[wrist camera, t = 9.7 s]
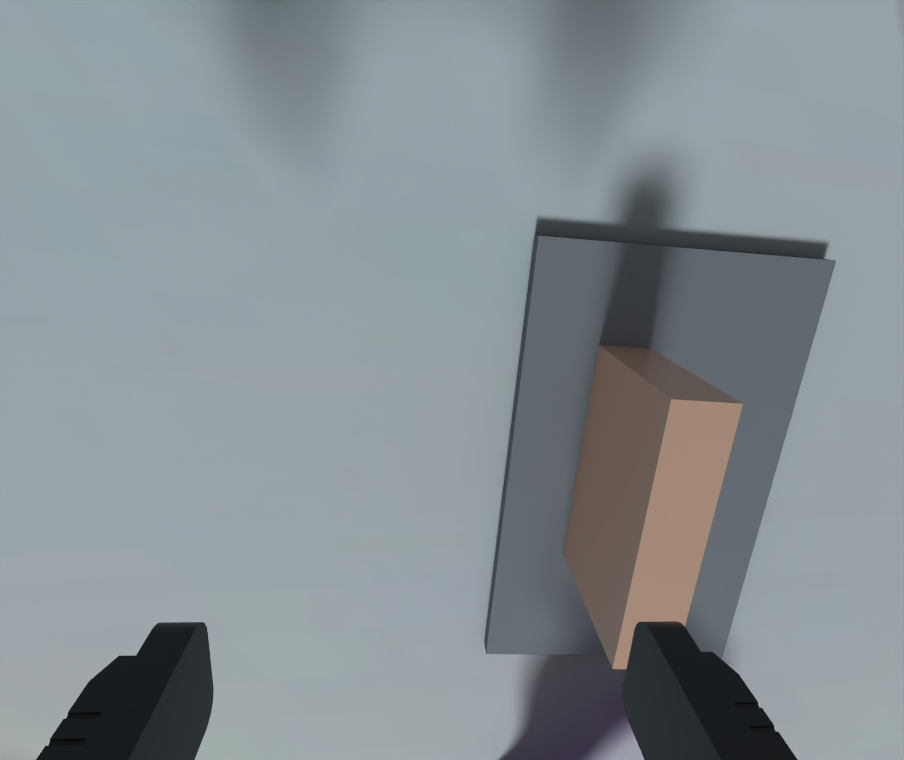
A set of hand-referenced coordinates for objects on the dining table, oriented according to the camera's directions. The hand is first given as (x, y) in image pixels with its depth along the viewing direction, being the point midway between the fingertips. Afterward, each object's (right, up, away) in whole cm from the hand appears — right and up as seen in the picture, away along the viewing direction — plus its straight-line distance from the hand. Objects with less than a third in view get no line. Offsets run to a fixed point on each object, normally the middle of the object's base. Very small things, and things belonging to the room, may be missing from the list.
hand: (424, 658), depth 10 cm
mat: (+8, +1, +12) cm, 15 cm away
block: (+7, +2, +11) cm, 13 cm away
